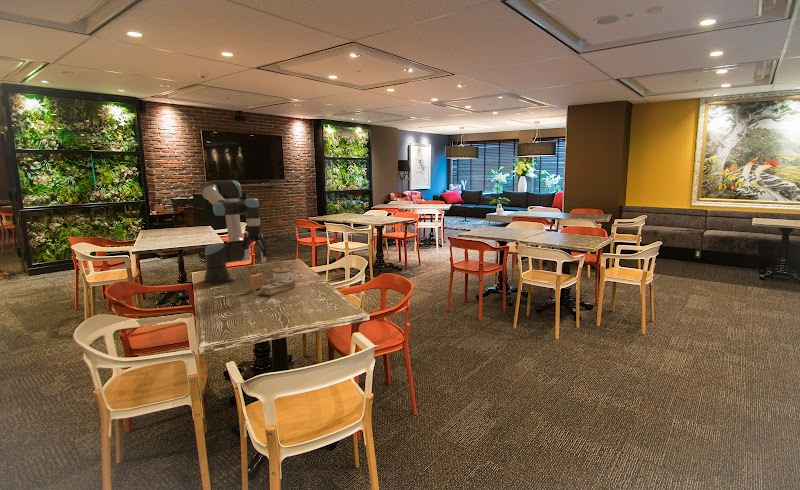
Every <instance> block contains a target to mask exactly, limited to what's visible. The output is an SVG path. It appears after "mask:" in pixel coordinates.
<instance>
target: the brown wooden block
mask: <svg viewBox="0 0 800 490" xmlns="http://www.w3.org/2000/svg"><path fill="white" fill-rule="evenodd" d="M294 288H296V280H293V279H288V280H287V279H284V280H281V281H278V282H277V281H275V282H272V283H269V284H264V286H261V287H260V289H259V291H260V292H259V293H260V294H261V295H265V296H273V295H276V294H279V293H283V292H285V291H289V290H291V289H294Z"/></svg>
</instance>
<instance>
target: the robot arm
mask: <svg viewBox="0 0 800 490" xmlns="http://www.w3.org/2000/svg"><path fill="white" fill-rule="evenodd" d="M200 191H201V196H202V197H203V199H205V200H207V201H208V202H210V204H211V205H212V212H213V214H214V215H215V216H216V217H217V216H220V217H223V216H225V223H226V228H227V229H226V231H227V237H228V240H227V241H226V244H225V243H224V242H219V243H218V242H217V243H212V244H209V245H207V246H206V247H205V248H204V253H205V254H204V255H205V264H206V267H205V268H206V271H205V275H204V282H205V283H209V284H214V283H215V284H217V283H223V282H228V281H229V280H230V279H231V275H230V273H229V270H228V269H227V264H229V263H237V262H245V261H250V260H251V256H250V245H251V244H252V242H255V243H257V245H258V247H259V248H260V250H261V251H260V254H261V255H260V257H261V263H262V264H264V263H266V262H267V252H268V251H269V250H270V248H269V246H268V243H267V241H266V239H265V235H264V233H260V232H261V219H260V203H259V199H258V198H246V199H245V200H242V201H240V198H242V196H243V194H242V192H243V191H242V187H241V184H240V183H239V181H237V180H234V179H225V180H224V179H223V180H222V179H220V180H209V181H207V182H205V184H203V186H202V187H201V190H200ZM240 215H245V219H246V220H245V221H246V225H247V226H246V232H244V235H243V232H242V225H241V224H242V223H241V219H240V218H241V217H240Z"/></svg>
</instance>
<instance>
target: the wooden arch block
mask: <svg viewBox="0 0 800 490" xmlns="http://www.w3.org/2000/svg"><path fill="white" fill-rule="evenodd" d="M264 277H265V276H264V273H262V272H261V273H255V274H251V275H249V290H250V292H257V287H258V289H259V290H260V287H261V286H264V285H265V281H264V279H265V278H264ZM256 281H257V282H256Z"/></svg>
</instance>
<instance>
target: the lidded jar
mask: <svg viewBox="0 0 800 490" xmlns="http://www.w3.org/2000/svg"><path fill="white" fill-rule="evenodd" d="M272 276H273V279H274V280H275V282H278V281H281V280H284V279H287V280H290V277H291V268H288V267H283V266H280V267H278V268H273V269H272Z"/></svg>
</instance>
